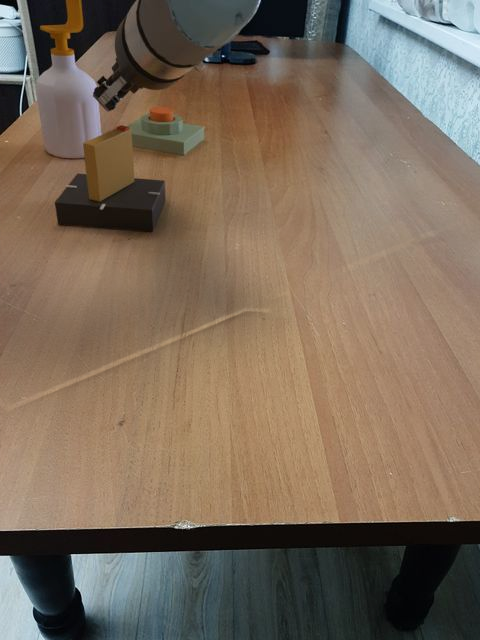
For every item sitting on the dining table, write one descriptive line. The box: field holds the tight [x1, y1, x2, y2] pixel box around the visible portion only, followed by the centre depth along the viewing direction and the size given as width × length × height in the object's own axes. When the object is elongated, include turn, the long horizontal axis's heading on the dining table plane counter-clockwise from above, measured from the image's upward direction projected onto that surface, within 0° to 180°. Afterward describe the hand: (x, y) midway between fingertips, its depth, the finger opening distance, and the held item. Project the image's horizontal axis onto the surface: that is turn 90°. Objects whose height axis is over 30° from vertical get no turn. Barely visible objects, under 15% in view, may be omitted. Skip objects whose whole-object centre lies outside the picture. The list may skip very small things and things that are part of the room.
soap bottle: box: [35, 0, 102, 160], centre depth 86 cm, size 9×9×25 cm
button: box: [149, 106, 174, 122], centre depth 98 cm, size 4×4×2 cm
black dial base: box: [54, 173, 166, 233], centre depth 75 cm, size 12×12×3 cm
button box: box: [126, 112, 205, 156], centre depth 99 cm, size 12×10×4 cm
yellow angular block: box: [83, 125, 135, 202], centre depth 72 cm, size 8×2×7 cm, turn 158°
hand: (105, 98), depth 77 cm, fingers closed
